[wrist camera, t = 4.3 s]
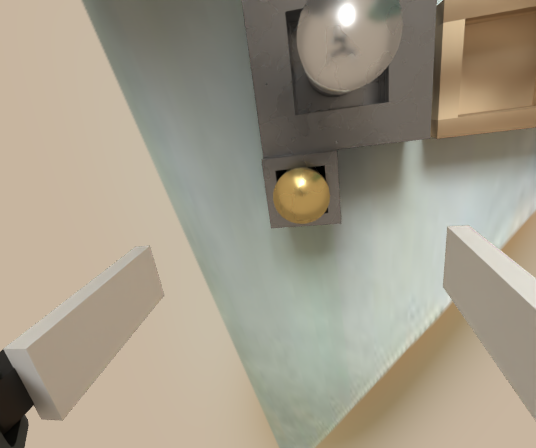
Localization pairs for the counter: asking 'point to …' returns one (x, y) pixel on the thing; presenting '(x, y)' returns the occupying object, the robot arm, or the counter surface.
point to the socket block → (333, 98)
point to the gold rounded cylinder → (301, 195)
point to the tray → (484, 67)
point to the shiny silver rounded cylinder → (347, 42)
